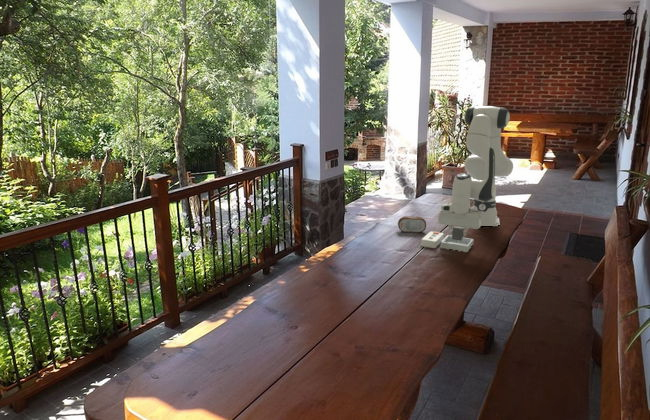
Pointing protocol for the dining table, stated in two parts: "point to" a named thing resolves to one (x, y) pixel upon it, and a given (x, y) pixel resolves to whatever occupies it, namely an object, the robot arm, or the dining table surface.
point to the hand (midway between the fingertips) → (457, 234)
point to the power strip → (432, 239)
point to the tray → (456, 244)
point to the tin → (412, 224)
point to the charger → (457, 233)
